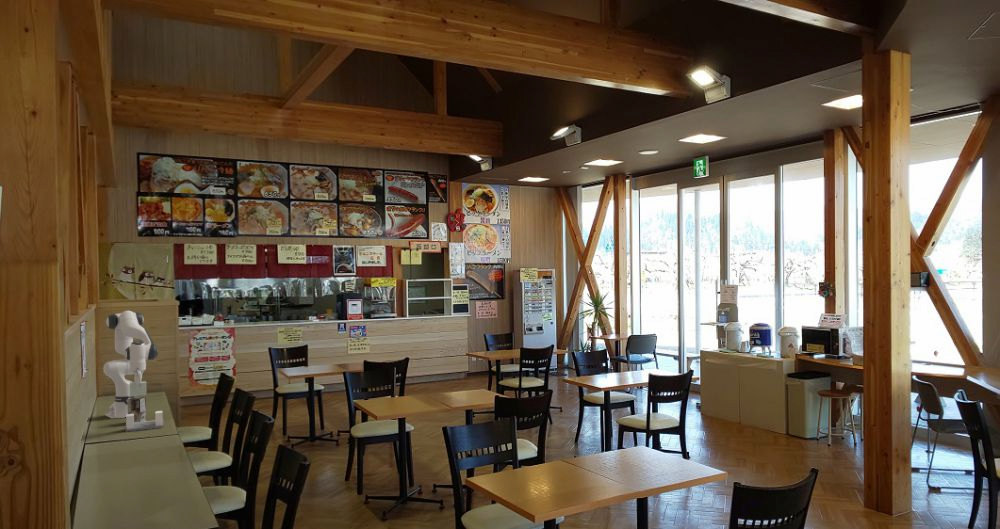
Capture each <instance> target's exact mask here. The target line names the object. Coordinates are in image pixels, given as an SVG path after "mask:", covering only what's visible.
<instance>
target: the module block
mask: <svg viewBox="0 0 1000 529" xmlns="http://www.w3.org/2000/svg"><path fill="white" fill-rule="evenodd" d="M130 396H135V397H141V396H142V397H143V396H147V381H141V384H140V390H136V384H134V381H132V382H131V383H130Z"/></svg>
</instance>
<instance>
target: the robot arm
mask: <svg viewBox="0 0 1000 529" xmlns="http://www.w3.org/2000/svg"><path fill="white" fill-rule="evenodd" d="M144 321H145V320H144V316H143V314H142V313H141V312H137V311H136V312H135V311H132V310H123V311H122V312H120V313H119V312H118V313H111V314H109V315H107V317H106V321H105V322H106V326H107V328H108V329H109V330H114V350H115V352H116V353H117V354H120V355H123V357H124V358H122V359H113V360H109V361H106V362H105V363H104V364H103V370H102V371H103V373H104V375H105V376H106V377H109V378H110V379H111V380H112V381H113V383H114V386H115V396H114V399H113V400H114V401H113V403H112V404H111V405H110V406H109V408H108V412H107V413H105V414H104V415H105V416H106V417H108V418H109V419H124V418H125V417H126V416H127V414H128V403H127V399H130V398H133V397H136V396H130V383H131V382H134V384H136V390H140V384H141V382H142V379H143V373H144V372H145V371H146V369H147V362H146V361H154V359H156V358H157V357H158V355H159V350H158V347H157V345H156V344H155V343H154V340H153V339H152V337H151V335H150V334H149V331H148V330H147V328H145V327H143V323H144ZM134 339H138V340H136V341H134ZM129 375H133V376H134V379H133V380H134V381H132V380H130V379H127V378H125V376H129ZM125 419H126V418H125Z"/></svg>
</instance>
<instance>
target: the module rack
mask: <svg viewBox="0 0 1000 529" xmlns="http://www.w3.org/2000/svg"><path fill="white" fill-rule="evenodd" d="M163 413H164V412H163V410H157V411H155V413H154V414H155V417H154V418H155V419H154V420H146V421H145V422H135V423H134V414H127V416H126V418H125V419H126V423H125V432H126V431H127V432H126V433H129V432H128V431H131V432H136V431H135V430H140V431H146V430H145V429H149V430H153V429H152V428H158V429H162V428H161V427H164V426H165V425H164V418H163V417H164V414H163Z"/></svg>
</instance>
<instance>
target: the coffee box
mask: <svg viewBox="0 0 1000 529" xmlns="http://www.w3.org/2000/svg"><path fill="white" fill-rule="evenodd" d="M146 402H147V398H146V396H142V397H141V396H135V397H133V398H130V399H127V403H128V414H134V423H135V422H145V421H147V403H146Z"/></svg>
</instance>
